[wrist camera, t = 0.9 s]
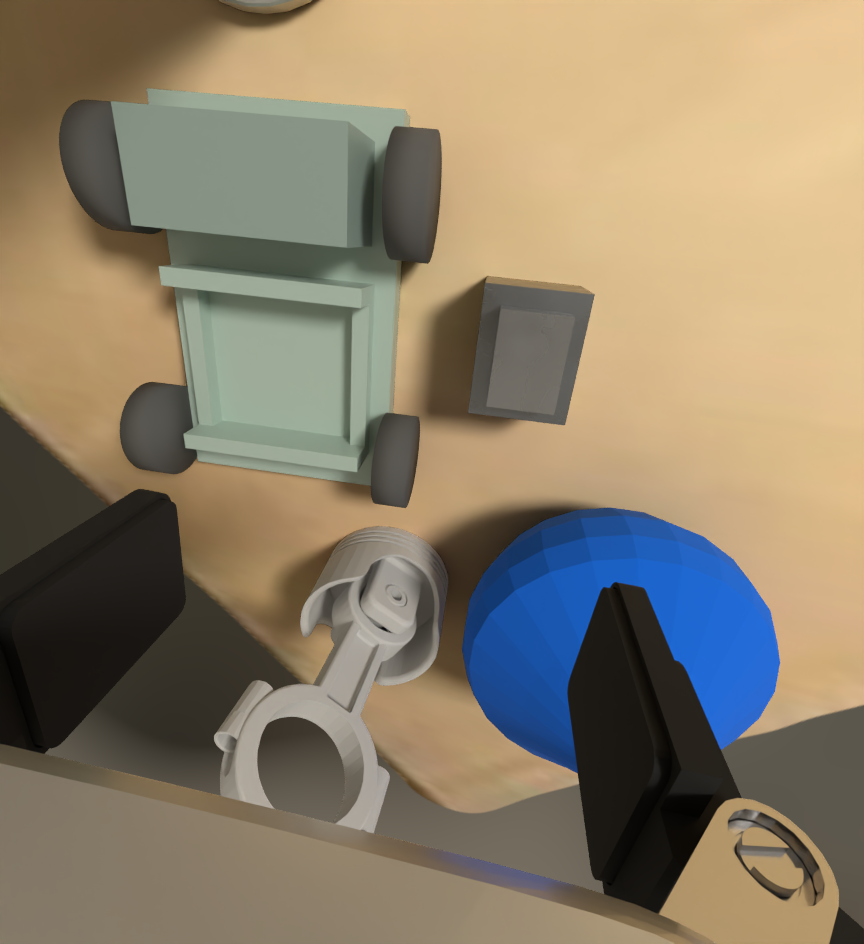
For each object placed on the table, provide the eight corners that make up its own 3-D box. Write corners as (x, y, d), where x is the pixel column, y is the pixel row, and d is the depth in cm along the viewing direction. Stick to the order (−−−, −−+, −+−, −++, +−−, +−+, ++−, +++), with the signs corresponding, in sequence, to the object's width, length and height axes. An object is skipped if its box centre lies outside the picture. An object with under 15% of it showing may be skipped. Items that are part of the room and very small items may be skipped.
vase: (776, 547, 34) (1054, 856, 17) (613, 694, 42) (689, 1005, 25) (556, 421, 32) (619, 627, 15) (429, 600, 40) (376, 867, 23)
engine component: (401, 642, 43) (473, 575, 39) (326, 944, 24) (448, 878, 20) (298, 574, 41) (363, 496, 37) (134, 845, 23) (225, 751, 18)
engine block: (487, 275, 29) (484, 285, 23) (580, 285, 29) (600, 297, 23) (472, 388, 32) (466, 421, 26) (556, 399, 32) (568, 434, 26)
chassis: (130, 93, 27) (29, 53, 21) (446, 119, 26) (431, 84, 20) (184, 449, 37) (124, 488, 31) (415, 482, 36) (398, 529, 30)
